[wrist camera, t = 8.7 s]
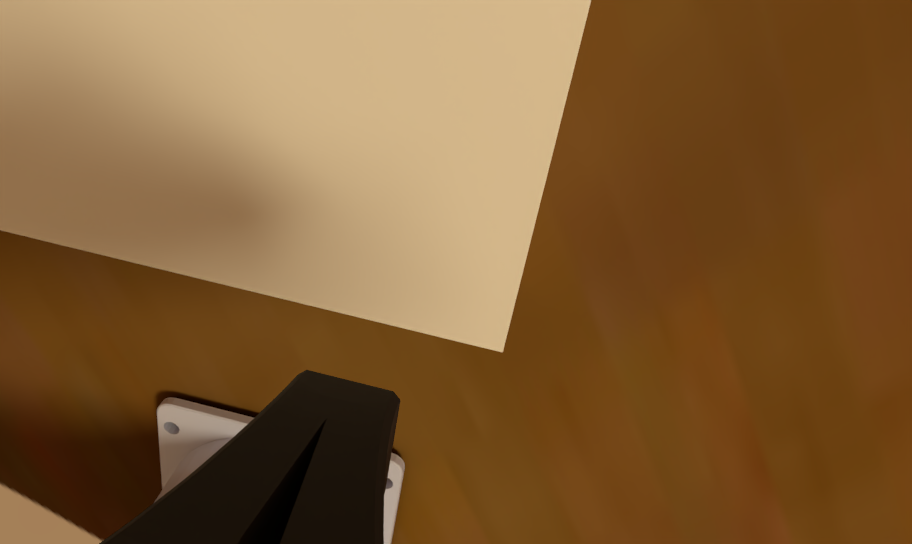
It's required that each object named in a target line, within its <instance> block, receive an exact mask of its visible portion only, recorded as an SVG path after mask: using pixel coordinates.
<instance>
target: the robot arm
mask: <svg viewBox="0 0 912 544" xmlns="http://www.w3.org/2000/svg"><path fill="white" fill-rule="evenodd" d="M399 404H400V399H399V398H398V397H397V395H396V394H395V393H394V392H393V391H389V390H385V389H381V388H377V387H373V386H369V385H365V384H361V383H357V382H353V381H349V380H345V379H341V378H337V377H333V376H329V375H325V374H321V373H317V372H313V371H309V370H306V371H304V372H302V373H300V374H298V375H297V376H296V377H295V378H294V379H293V380H292V382H291V383H290V384H289V385H288V386H287V387H286V388H285V389H284V390H283V391H282V392H281V393H280V394H279V395H278V396H277V397H276V398H275V399H274V400H273V401H272V402H271V403H270V404H269V405H267V406H266V407H265V408H264V409H263V410H262V411H261V412H260V413H259V414H258V415H257V416H256V417H255V418H253V417H250V416H246V415H242V414H238V413H234V412H230V411H226V410H222V409H218V408H214V407H210V406H206V405H202V404H198V403H194V402H190V401H187V400H183V399H179V398H172V397H169V398H165V399H164V400H163V401H162V402H161V404H160V405H159V406H158V408H157V424H158V438H159V452H160V466H161V480H162V491H161V492H160V494H159V495H158V497H157V499H156V500H155V502H154V503H153V504H152V505H151V506H149V507H148V508H147V509H146V510H144V511H143V512H142V513H140V514H139V515H138V516H137V517H135V518H134V519H133V520H131V521H130V522H129V523H127V524H126V525H125V526H123V527H122V528H120V529H119V530H118V531H116V532H115V533H114V534H112V535H111V536H109V537H108V538H107V539H105V540H104V541H102V542H101V543H99V544H391V542H392V536H393V531H394V525H395V520H396V514H397V509H398V503H399V498H400V492H401V487H402V481H403V475H404V470H405V463H404V462H403V460H402V458H400V457H399V456H398V455H396V454H394V453H392V447H393V441H394V435H395V429H396V423H397V417H398V411H399ZM175 424H176V425H175ZM387 478H389V479H387Z"/></svg>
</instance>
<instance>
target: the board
mask: <svg viewBox="0 0 912 544" xmlns="http://www.w3.org/2000/svg"><path fill="white" fill-rule="evenodd" d="M590 3H591V0H0V230H1V231H5V232H10V233H14V234H18V235H22V236H26V237H30V238H34V239H38V240H42V241H47V242H51V243H55V244H59V245H63V246H67V247H71V248H75V249H79V250H84V251H88V252H92V253H96V254H100V255H104V256H108V257H112V258H116V259H121V260H125V261H129V262H133V263H137V264H141V265H145V266H149V267H154V268H158V269H162V270H166V271H170V272H174V273H178V274H182V275H186V276H191V277H195V278H199V279H203V280H207V281H211V282H215V283H219V284H223V285H228V286H232V287H236V288H240V289H244V290H248V291H252V292H256V293H260V294H265V295H269V296H273V297H277V298H281V299H285V300H289V301H293V302H297V303H302V304H306V305H310V306H314V307H318V308H322V309H326V310H330V311H334V312H339V313H343V314H347V315H351V316H355V317H359V318H363V319H367V320H372V321H376V322H380V323H384V324H388V325H392V326H396V327H400V328H404V329H409V330H413V331H417V332H421V333H425V334H429V335H433V336H437V337H441V338H446V339H450V340H454V341H458V342H462V343H466V344H470V345H474V346H478V347H483V348H487V349H491V350H495V351H499V352H503V349H504V345H505V341H506V337H507V333H508V329H509V325H510V321H511V317H512V313H513V309H514V305H515V301H516V297H517V293H518V289H519V285H520V281H521V277H522V273H523V269H524V265H525V261H526V257H527V253H528V249H529V245H530V241H531V237H532V233H533V229H534V225H535V221H536V217H537V214H538V210H539V206H540V202H541V198H542V194H543V190H544V186H545V182H546V178H547V174H548V170H549V166H550V162H551V158H552V154H553V150H554V146H555V142H556V138H557V134H558V130H559V126H560V122H561V118H562V114H563V110H564V106H565V102H566V98H567V94H568V90H569V86H570V82H571V78H572V74H573V70H574V66H575V62H576V58H577V54H578V50H579V46H580V42H581V38H582V35H583V31H584V27H585V23H586V19H587V15H588V11H589V7H590Z"/></svg>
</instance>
